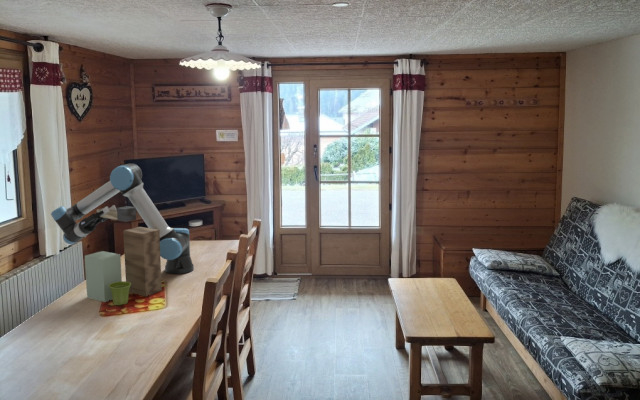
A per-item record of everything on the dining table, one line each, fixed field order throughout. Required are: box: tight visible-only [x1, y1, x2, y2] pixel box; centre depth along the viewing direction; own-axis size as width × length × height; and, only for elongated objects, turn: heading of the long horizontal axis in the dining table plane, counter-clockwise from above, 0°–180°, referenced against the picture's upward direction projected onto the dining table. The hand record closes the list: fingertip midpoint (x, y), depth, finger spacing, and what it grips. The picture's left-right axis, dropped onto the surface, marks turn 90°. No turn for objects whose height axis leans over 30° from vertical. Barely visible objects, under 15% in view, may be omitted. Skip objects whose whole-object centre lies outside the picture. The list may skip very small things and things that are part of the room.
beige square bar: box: [96, 205, 137, 223], centre depth 269 cm, size 6×22×6 cm, turn 60°
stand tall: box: [122, 226, 163, 297], centre depth 266 cm, size 10×13×30 cm
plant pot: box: [109, 280, 131, 306], centre depth 251 cm, size 9×9×9 cm
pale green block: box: [84, 250, 123, 303], centre depth 258 cm, size 10×12×20 cm
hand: (111, 208), depth 269 cm, fingers closed on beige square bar, 4 cm apart
